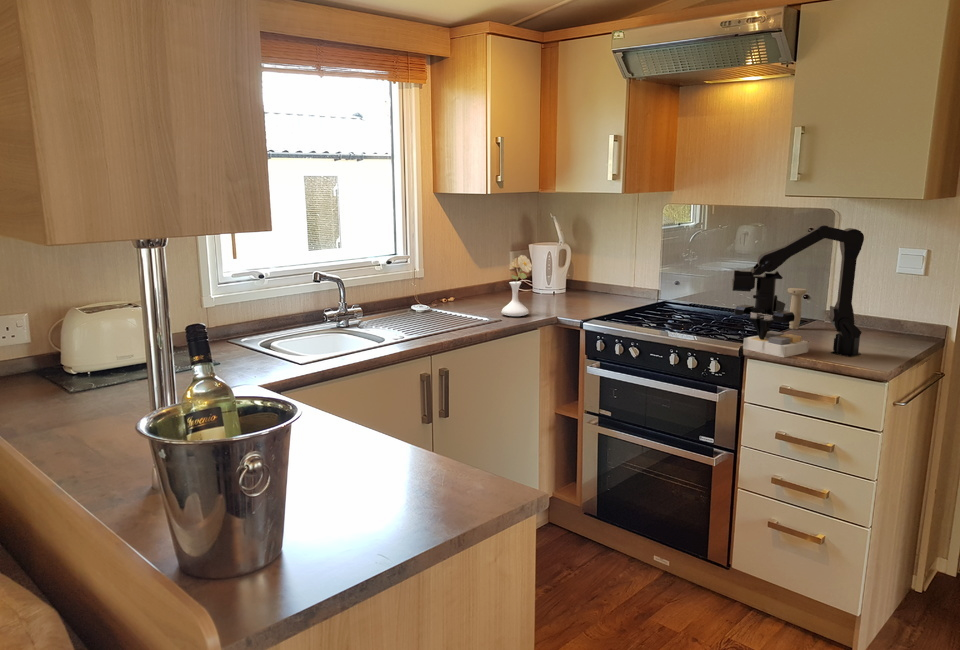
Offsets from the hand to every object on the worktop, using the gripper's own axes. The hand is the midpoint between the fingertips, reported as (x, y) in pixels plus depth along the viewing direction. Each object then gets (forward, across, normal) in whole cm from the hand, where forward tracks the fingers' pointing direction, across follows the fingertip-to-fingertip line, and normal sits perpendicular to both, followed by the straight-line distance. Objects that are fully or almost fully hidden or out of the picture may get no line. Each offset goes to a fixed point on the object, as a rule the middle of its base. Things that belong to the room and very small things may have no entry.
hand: (761, 339), depth 240 cm
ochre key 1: (+3, 0, 0) cm, 3 cm away
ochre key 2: (+1, -6, -6) cm, 9 cm away
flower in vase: (+4, +96, +28) cm, 100 cm away
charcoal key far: (+1, 0, -6) cm, 6 cm away
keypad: (+3, -3, -3) cm, 6 cm away
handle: (+4, +15, -41) cm, 44 cm away
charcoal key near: (+1, -6, 0) cm, 7 cm away
